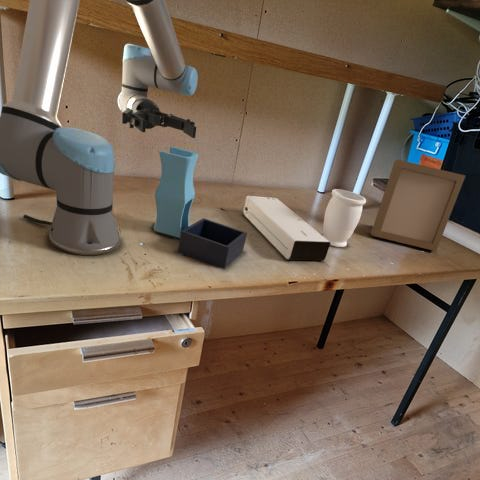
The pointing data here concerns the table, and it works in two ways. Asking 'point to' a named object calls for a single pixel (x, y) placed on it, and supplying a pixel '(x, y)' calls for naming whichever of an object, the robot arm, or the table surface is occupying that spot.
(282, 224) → the laminator
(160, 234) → the coaster
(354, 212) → the jar
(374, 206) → the table surface
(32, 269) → the table surface
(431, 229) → the photo frame
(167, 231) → the vase
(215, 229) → the bin
